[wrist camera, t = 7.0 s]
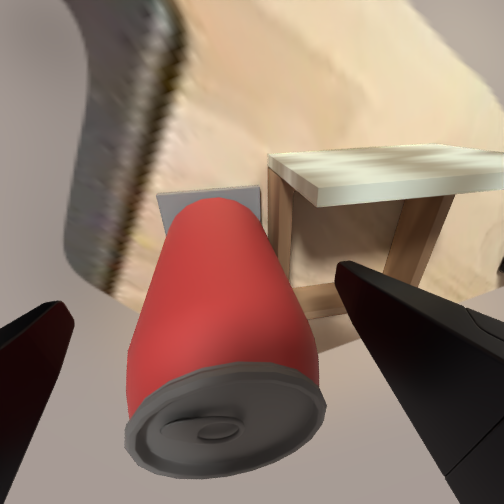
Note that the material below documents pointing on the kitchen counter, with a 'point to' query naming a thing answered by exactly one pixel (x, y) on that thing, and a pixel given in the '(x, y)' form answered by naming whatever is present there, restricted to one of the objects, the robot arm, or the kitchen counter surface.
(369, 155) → the drawer
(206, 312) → the beer can
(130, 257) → the kitchen counter surface
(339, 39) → the kitchen counter surface
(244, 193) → the plate
